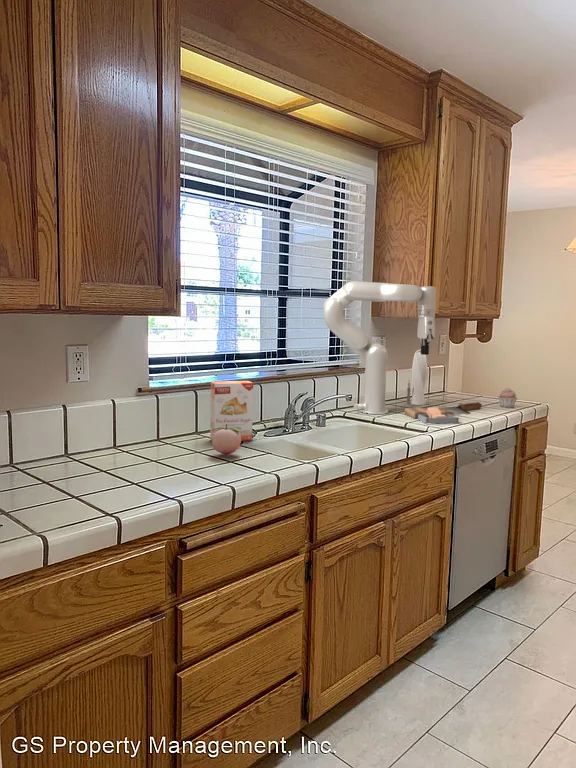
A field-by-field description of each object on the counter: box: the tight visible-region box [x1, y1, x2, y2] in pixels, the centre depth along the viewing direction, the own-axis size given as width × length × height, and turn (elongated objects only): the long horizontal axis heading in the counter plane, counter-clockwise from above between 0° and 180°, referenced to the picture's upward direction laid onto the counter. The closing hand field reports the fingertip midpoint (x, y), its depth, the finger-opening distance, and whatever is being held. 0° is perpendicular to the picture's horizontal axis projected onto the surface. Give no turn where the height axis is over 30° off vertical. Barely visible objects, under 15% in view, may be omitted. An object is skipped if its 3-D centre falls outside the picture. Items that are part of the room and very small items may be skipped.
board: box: [404, 407, 454, 420], centre depth 254 cm, size 18×12×3 cm, turn 99°
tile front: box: [432, 414, 447, 418], centre depth 241 cm, size 4×4×2 cm
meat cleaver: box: [443, 401, 483, 416], centre depth 267 cm, size 34×11×4 cm, turn 123°
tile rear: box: [427, 407, 441, 418], centre depth 246 cm, size 4×4×2 cm
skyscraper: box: [405, 348, 428, 407], centre depth 287 cm, size 8×8×28 cm
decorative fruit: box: [211, 424, 242, 456], centre depth 179 cm, size 9×8×10 cm
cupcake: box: [497, 386, 518, 409], centre depth 285 cm, size 9×9×10 cm
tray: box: [417, 414, 459, 424], centre depth 243 cm, size 14×10×2 cm
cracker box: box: [209, 380, 254, 442], centre depth 201 cm, size 14×6×21 cm, turn 112°
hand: (424, 354), depth 261 cm, fingers closed
